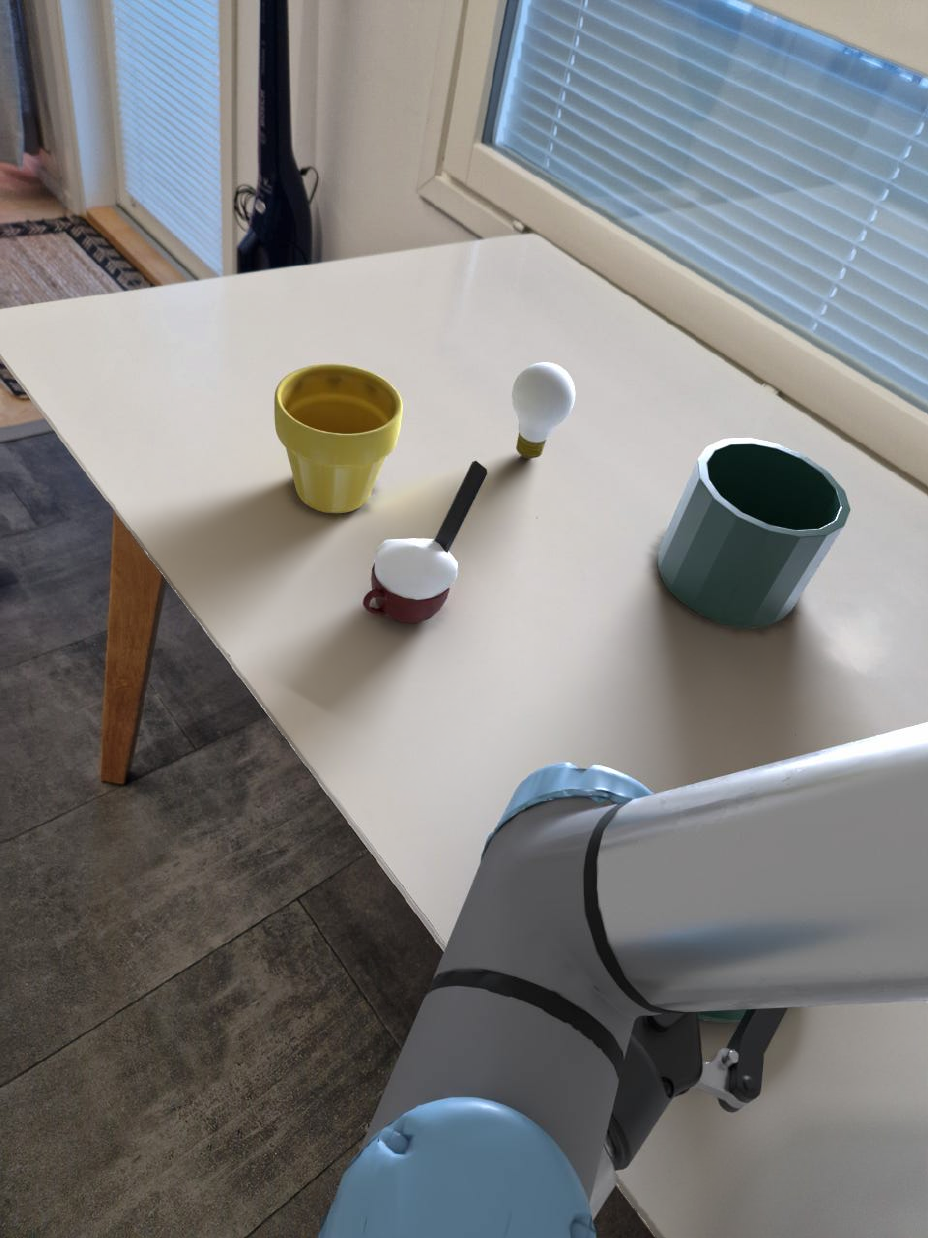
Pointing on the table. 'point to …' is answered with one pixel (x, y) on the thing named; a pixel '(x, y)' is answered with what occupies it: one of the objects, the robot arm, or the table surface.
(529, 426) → the light bulb
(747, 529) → the canister
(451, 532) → the cocoa
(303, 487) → the flower pot
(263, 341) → the table surface
